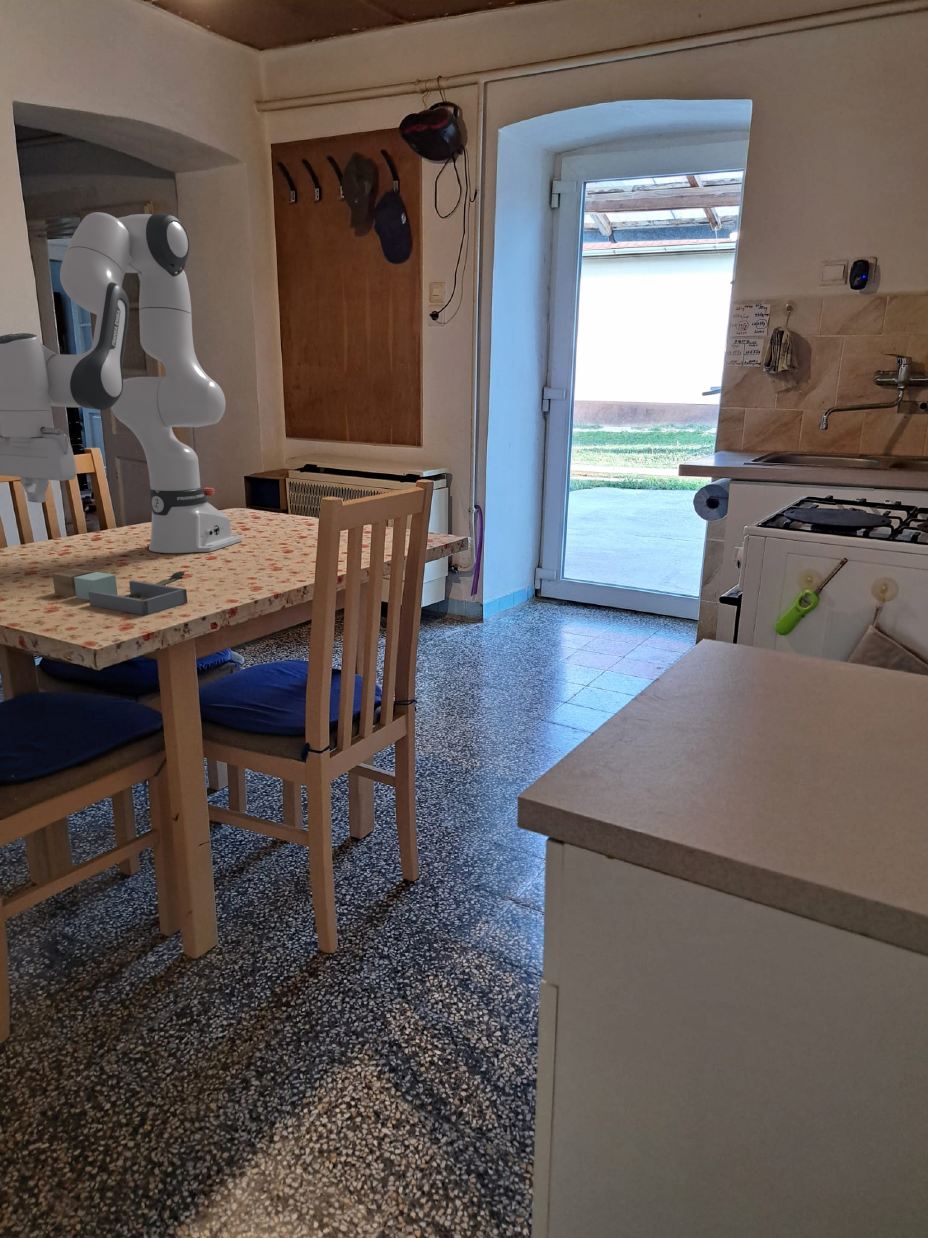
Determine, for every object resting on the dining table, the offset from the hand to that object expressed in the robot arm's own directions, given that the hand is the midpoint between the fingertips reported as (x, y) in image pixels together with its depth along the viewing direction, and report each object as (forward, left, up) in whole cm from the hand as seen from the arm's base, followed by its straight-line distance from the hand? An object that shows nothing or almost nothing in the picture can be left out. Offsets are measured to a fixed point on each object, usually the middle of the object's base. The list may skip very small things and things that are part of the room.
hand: (37, 501), depth 158 cm
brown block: (0, +7, -17) cm, 18 cm away
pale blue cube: (0, +13, -17) cm, 21 cm away
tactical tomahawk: (-10, +19, -17) cm, 28 cm away
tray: (0, +24, -17) cm, 30 cm away
